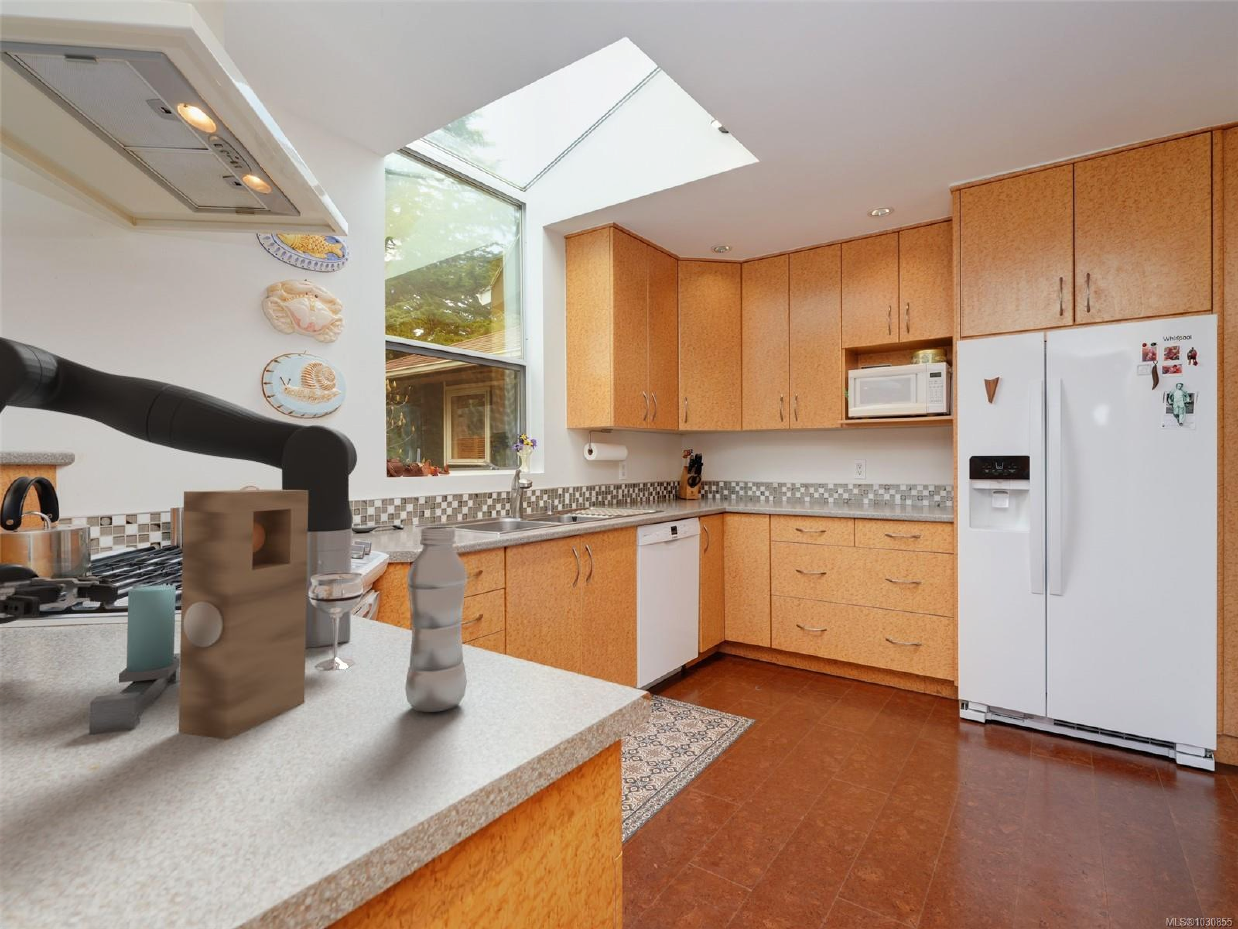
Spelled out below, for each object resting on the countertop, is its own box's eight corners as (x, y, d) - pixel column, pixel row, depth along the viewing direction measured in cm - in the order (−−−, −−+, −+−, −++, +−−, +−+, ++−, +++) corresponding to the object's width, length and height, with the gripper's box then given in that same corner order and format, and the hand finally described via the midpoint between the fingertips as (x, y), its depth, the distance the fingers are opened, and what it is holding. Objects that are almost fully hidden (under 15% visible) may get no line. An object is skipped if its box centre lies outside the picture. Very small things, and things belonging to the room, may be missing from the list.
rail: (179, 678, 76) (180, 653, 76) (134, 729, 61) (135, 697, 61) (144, 682, 74) (144, 656, 74) (89, 734, 59) (90, 702, 60)
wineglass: (334, 654, 86) (336, 570, 87) (372, 660, 84) (374, 573, 84) (295, 669, 80) (296, 578, 80) (335, 675, 78) (336, 581, 78)
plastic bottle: (477, 701, 69) (480, 526, 70) (442, 724, 63) (445, 531, 63) (430, 694, 71) (433, 524, 72) (391, 715, 65) (394, 529, 65)
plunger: (186, 552, 65) (187, 522, 65) (213, 548, 68) (213, 519, 68) (239, 554, 63) (240, 523, 63) (264, 551, 66) (265, 521, 66)
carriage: (179, 666, 74) (181, 584, 74) (168, 677, 70) (170, 590, 70) (133, 670, 72) (135, 586, 72) (118, 682, 68) (120, 593, 68)
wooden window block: (174, 734, 60) (180, 491, 60) (260, 697, 70) (264, 489, 70) (223, 741, 58) (229, 492, 59) (304, 702, 68) (308, 490, 69)
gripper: (-92, 570, 71) (7, 578, 67) (48, 555, 85) (138, 562, 81) (-96, 634, 71) (4, 647, 67) (46, 609, 84) (136, 618, 81)
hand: (77, 600), depth 74 cm, fingers open, 8 cm apart
